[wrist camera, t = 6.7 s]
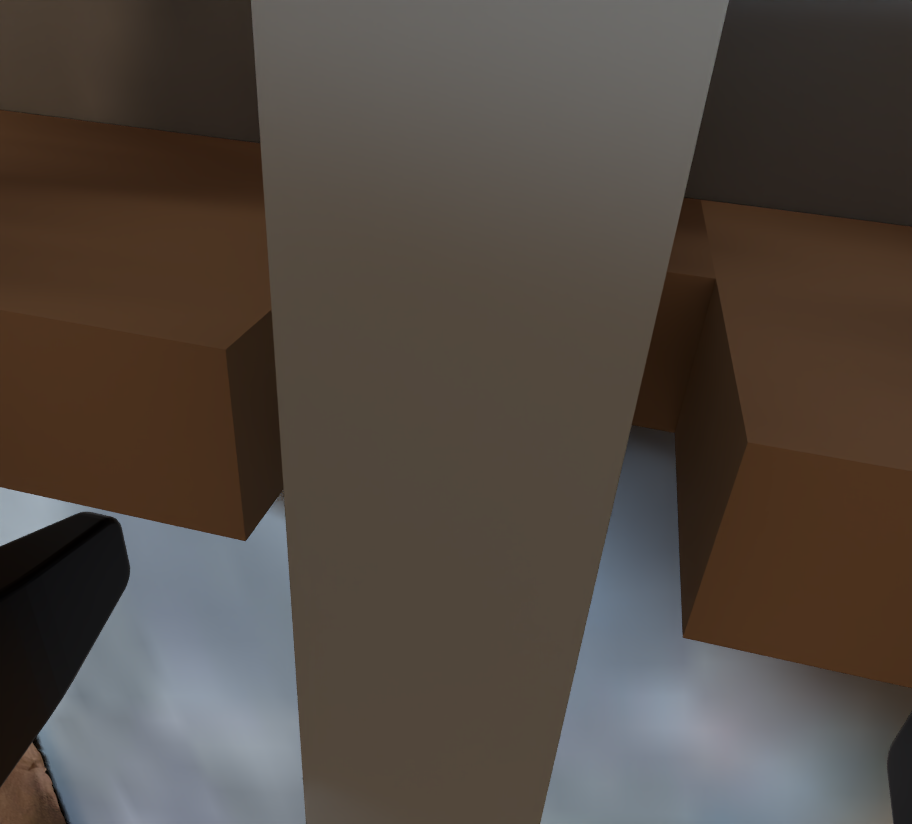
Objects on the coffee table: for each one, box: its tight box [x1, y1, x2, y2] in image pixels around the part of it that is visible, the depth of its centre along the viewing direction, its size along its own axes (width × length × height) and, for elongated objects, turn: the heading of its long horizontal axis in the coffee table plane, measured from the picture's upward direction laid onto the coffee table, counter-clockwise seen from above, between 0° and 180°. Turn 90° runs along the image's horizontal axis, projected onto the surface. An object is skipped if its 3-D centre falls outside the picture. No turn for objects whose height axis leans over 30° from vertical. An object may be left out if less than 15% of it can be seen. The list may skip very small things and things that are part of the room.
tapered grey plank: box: [251, 0, 729, 824], centre depth 6 cm, size 2×12×6 cm, turn 176°
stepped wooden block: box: [0, 110, 912, 688], centre depth 7 cm, size 18×2×5 cm, turn 87°
